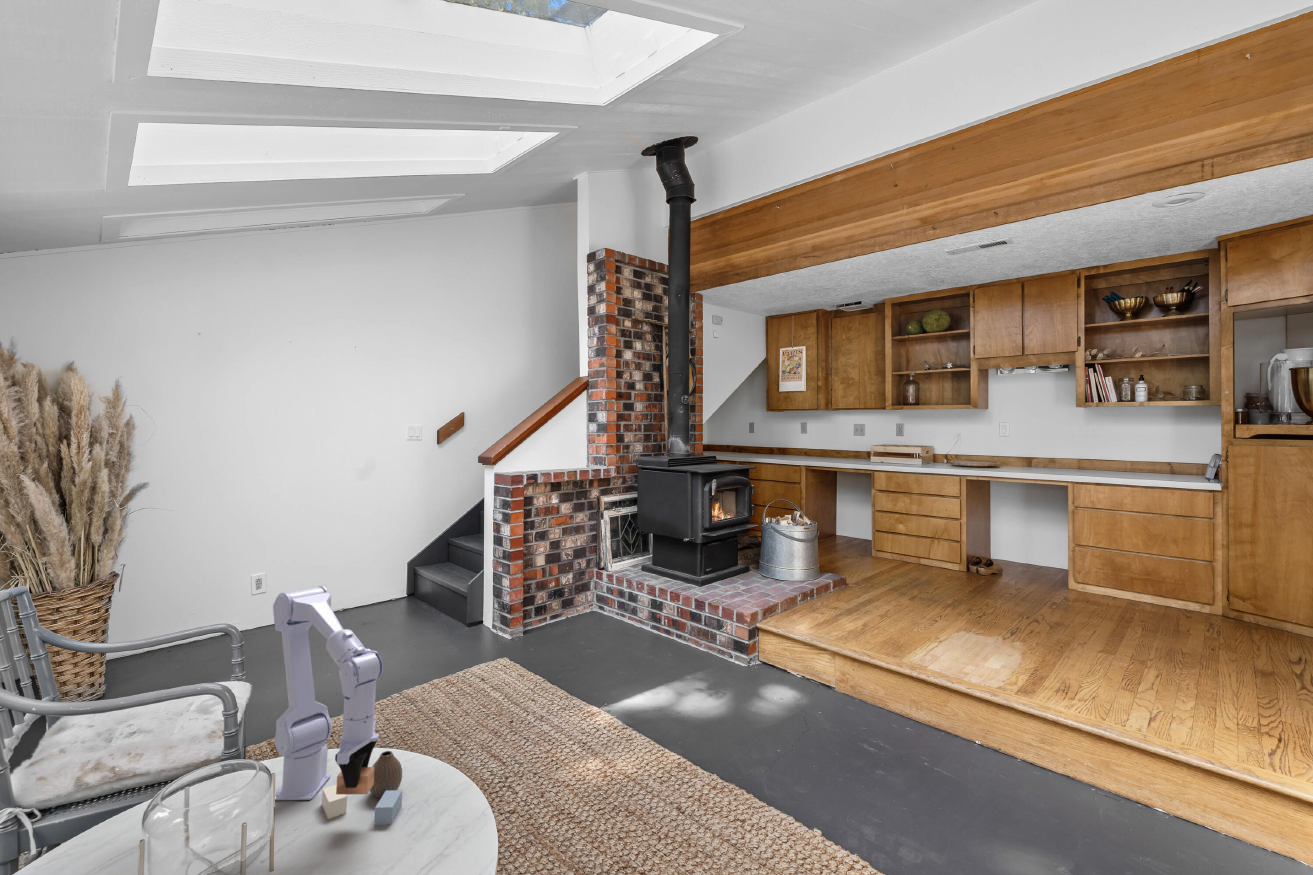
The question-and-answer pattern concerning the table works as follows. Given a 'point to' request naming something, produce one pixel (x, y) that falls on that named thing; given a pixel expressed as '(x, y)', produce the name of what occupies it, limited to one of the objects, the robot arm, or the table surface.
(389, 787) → the vase
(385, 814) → the slate brick
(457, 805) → the table surface
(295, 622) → the robot arm
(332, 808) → the cream brick
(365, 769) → the terracotta brick
